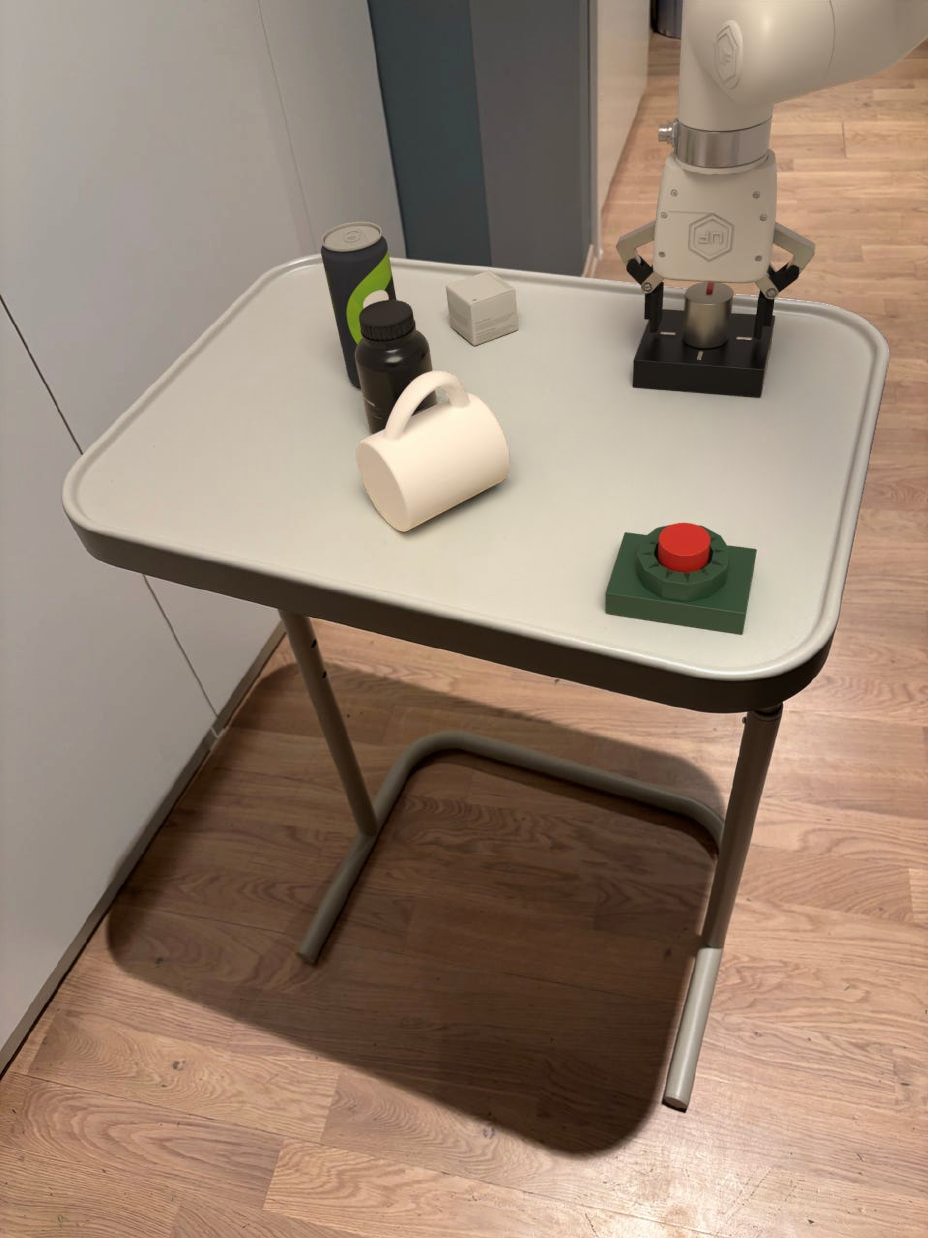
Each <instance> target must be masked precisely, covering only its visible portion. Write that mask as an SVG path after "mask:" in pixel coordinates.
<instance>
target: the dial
mask: <svg viewBox="0 0 928 1238" xmlns="http://www.w3.org/2000/svg"><path fill="white" fill-rule="evenodd" d="M734 295H735V292H734V289H733V288H732V287H731V286H730V285H727V283H715V282H696V283H695V284H692V285H690V286H689V287H688V288H686V290H685V292H684V306H683V310H684V317H683V333H682V338H683V340H684V342H685V343H687V344H688V345H690V346H693V347H696V348H715V347H718V346H721V345H723V344H725V343H726V342H727V341H728V339H729V335H730V325H731V316H732V313H733V305H734Z"/></svg>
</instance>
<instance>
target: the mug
mask: <svg viewBox="0 0 928 1238" xmlns="http://www.w3.org/2000/svg"><path fill="white" fill-rule="evenodd" d="M434 390H435V391H436V390H441V391H443V392H444V393H445V394H446V396H447V399H445V400H443V401H441V402H439V403H437V405H434V406H432V407H430V408H428V409H426V410H424V411H422V412H420V413H418V414H416V415H413V416H411V415H412V414H413V412H414V411H415V409H416V408H417V406H418V405H419V404H420V403H421V401H422V400H423V399H424V398H425V397H426V396H427V395H428V394H430V393H431V392H432V391H434ZM355 457H356V464H357V468H358V472H359V476H360V478H361V481H362V484H363V486H364V488H365V490H366V492H367V495H368V497H369V498H370V500H371V502H372V503H373V505H374V507H375V508H376V510H377V512H378V513H379V514H380V515H381V516H382V518H383V519H384V520H385V522H387V524H389V525H390V526H391V527H392V528H393V529H395V530H396V531H399V532H407V531H410V530H412V529H414V528H415V527H417V526H420V525H421V524H423V523H425V522H428V521H430V520H431V519H432V518H435V517H436V516H438V515H440V514H442V513H444V512H446V511H448V510H450V509H452V508H454V507H456V506H457V505H460V504H461V503H463V502H465V501H467V500H469V499H471V498H473V497H475V496H476V495H479V494H481V493H482V492H484V491H486V490H488V489H491V488H492V487H494V486H496V485H498V484H500V483H502V482H504V481H505V480H506V479H507V477H508V475H509V474H510V469H511V455H510V449H509V445H508V441H507V439H506V435H505V433H504V430H503V428H502V426H501V424H500V422H499V420H498V418H497V417H496V415H495V414H494V413H493V411H492V410H491V408H490V407H489V406H488V405H487V404H486V403H485V402H484V400H482V399H481V398H480V397H478V396H477V395H476V394H473V393H471V392H467V389H466V388H465V385H464V384H463V382H462V381H461V380H460V379H459V378H458V377H457V376H456V375H455V374H453V373H450V372H449V371H444V370H433V371H431V372H427V373H425V374H422V375H420V376H419V377H417V378H416V379H414V380H413V381H412V382H411V383H410V384H409V385H408V386H407V387H406V389H405V390H404V391H403V393H402V394H401V396H400V397H399V399H398V400H397V402H396V404H395V406H394V408H393V410H392V412H391V414H390V416H389V419H388V422H387V424H386V428H385V429H384V430H382V431H380V432H378V433H375V434H371V435H369V436H367V437H365V438H363V439H361V440H359V442H358V443H357V445H356V449H355Z"/></svg>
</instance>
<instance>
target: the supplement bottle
mask: <svg viewBox="0 0 928 1238" xmlns="http://www.w3.org/2000/svg"><path fill="white" fill-rule="evenodd" d="M359 323H360V328H361V330H360V332H361V337H362V339H361V340H360V342H359V343H358V345H357V347H356V350H355V360H356V365H357V370H358V375H359V380H360V385H361V388H360V390H361V394H362V399H363V402H364V403H363V404H364V408H365V409H364V410H365V414H366V418H367V423H368V428H369V430H370V433H371V435H373V434H375V433H378V432H380V431H382V430H384V429H385V428H386V424H387V422H388V419H389V416H390V414H391V412H392V410H393V408H394V406H395V404H396V402H397V400H398V399H399V397H400V396H401V394H402V393H403V391H404V390H405V389H406V387H407V386H408V385H409V384H410V383H411V382H412V381H413V380H414V379H416V378H417V377H419V376H420V375H422V374H425V373H427V372H431V371H434V369H433V363H432V355H431V348H430V345H429V344H430V343H429V341H428V340H427V338H426V337H425V335H424V334H423V333H422V332H420V330H418V329H417V324H416V320H415V316H414V310H413V308H412V306H411V305H410V304H409V303H407V301H403V300H399V299H396V300H383V301H378V302H376V303H372V304H370V305H368V306H367V307H365V308H364V309H363V310H362V311H361V312H360V314H359ZM437 404H438V399H437V392H436V390H434V391H432V392H431V393H430V394H428V395H427V396H426V397H425V398H424V399H423V400H422V401H421V403H420V404H419V405H418V406H417V408H416V409H415V411H414V412H413V414H412V415H411V416H413V415H416V414H418V413H420V412H422V411H424V410H426V409H428V408H430V407H432V406H434V405H437Z"/></svg>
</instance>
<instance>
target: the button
mask: <svg viewBox="0 0 928 1238" xmlns="http://www.w3.org/2000/svg"><path fill="white" fill-rule="evenodd" d="M669 525H670V526H668V527H666V528H665V529H664V530H663V531H662V532H661V533H660V536H659V547H658V559H659V561H660V563H661V564H662V565H663V566H664V567H665V568H667V569H669V570H671V571H677V572H685V573H688V572H692V571H697V570H700V569H702V568H703V567H704V566H705V565H706V564H707V562H708V557H709V548H710V536H709V534H708V533H707V531H706V530H705V529H703V528H702V527H700V526H698V525H699V524H695V523H691V522H676V523H673V524H669Z"/></svg>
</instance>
